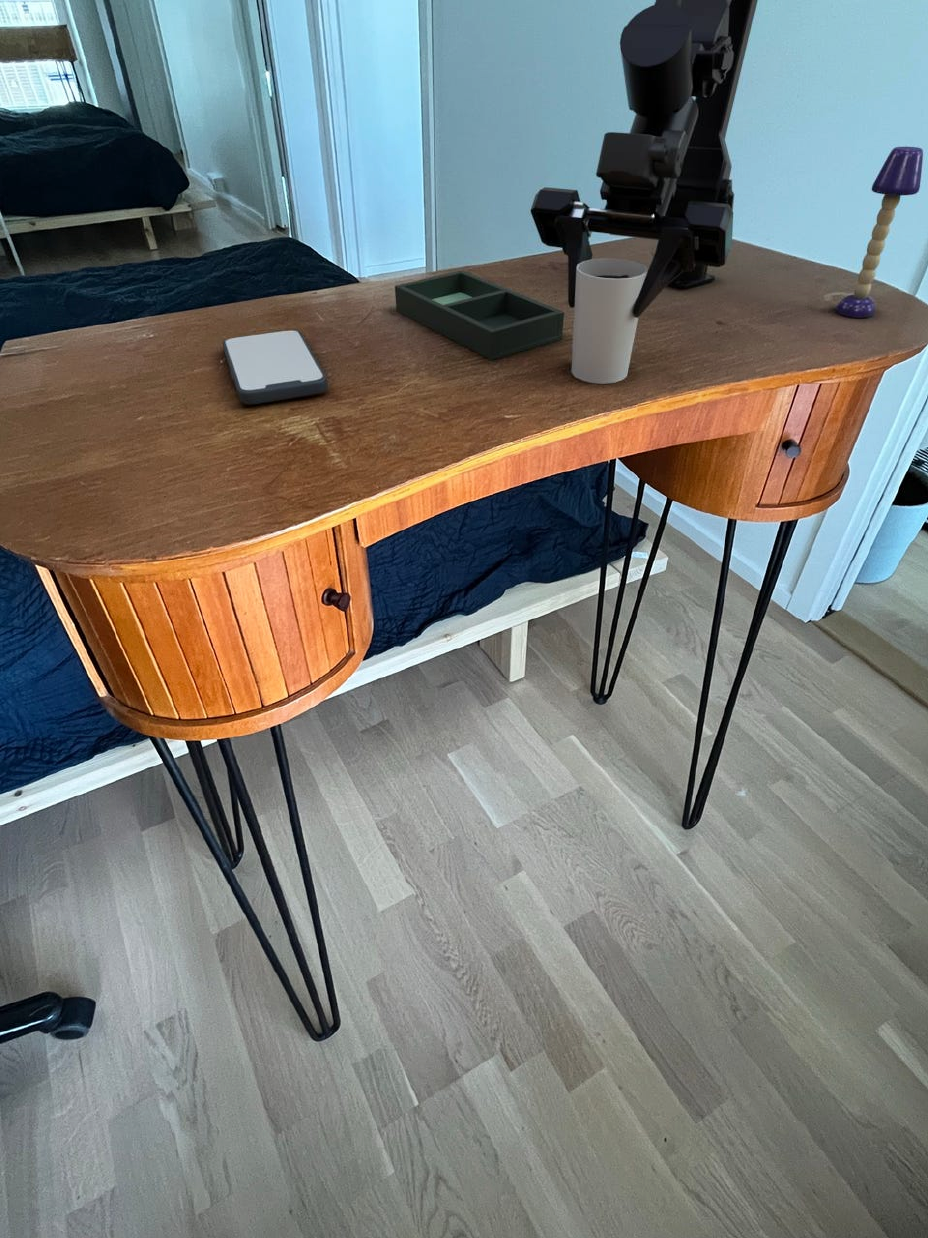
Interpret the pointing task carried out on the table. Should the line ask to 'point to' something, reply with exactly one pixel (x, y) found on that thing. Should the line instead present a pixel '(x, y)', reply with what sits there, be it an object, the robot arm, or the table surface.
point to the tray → (479, 314)
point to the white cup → (605, 318)
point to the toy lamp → (884, 222)
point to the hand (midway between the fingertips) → (602, 310)
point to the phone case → (273, 367)
